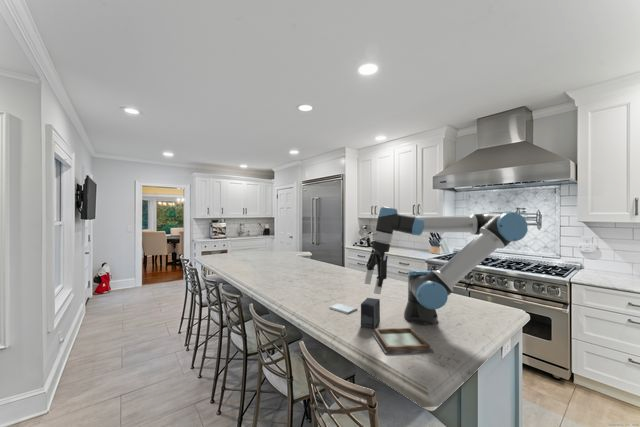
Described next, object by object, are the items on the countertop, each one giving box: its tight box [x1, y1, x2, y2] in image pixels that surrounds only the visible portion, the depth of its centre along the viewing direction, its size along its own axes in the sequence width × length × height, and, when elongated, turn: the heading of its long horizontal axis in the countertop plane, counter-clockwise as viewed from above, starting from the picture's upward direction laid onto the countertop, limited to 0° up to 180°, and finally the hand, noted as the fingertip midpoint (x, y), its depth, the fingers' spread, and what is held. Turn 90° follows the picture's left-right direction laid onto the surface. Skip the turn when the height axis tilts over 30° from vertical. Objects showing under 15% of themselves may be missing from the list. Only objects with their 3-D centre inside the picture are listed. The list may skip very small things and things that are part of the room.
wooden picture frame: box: [370, 327, 435, 355], centre depth 109 cm, size 18×18×2 cm
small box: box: [360, 297, 381, 330], centre depth 126 cm, size 11×6×10 cm, turn 154°
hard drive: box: [328, 302, 358, 315], centre depth 145 cm, size 2×8×12 cm
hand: (371, 288), depth 123 cm, fingers open, 13 cm apart
